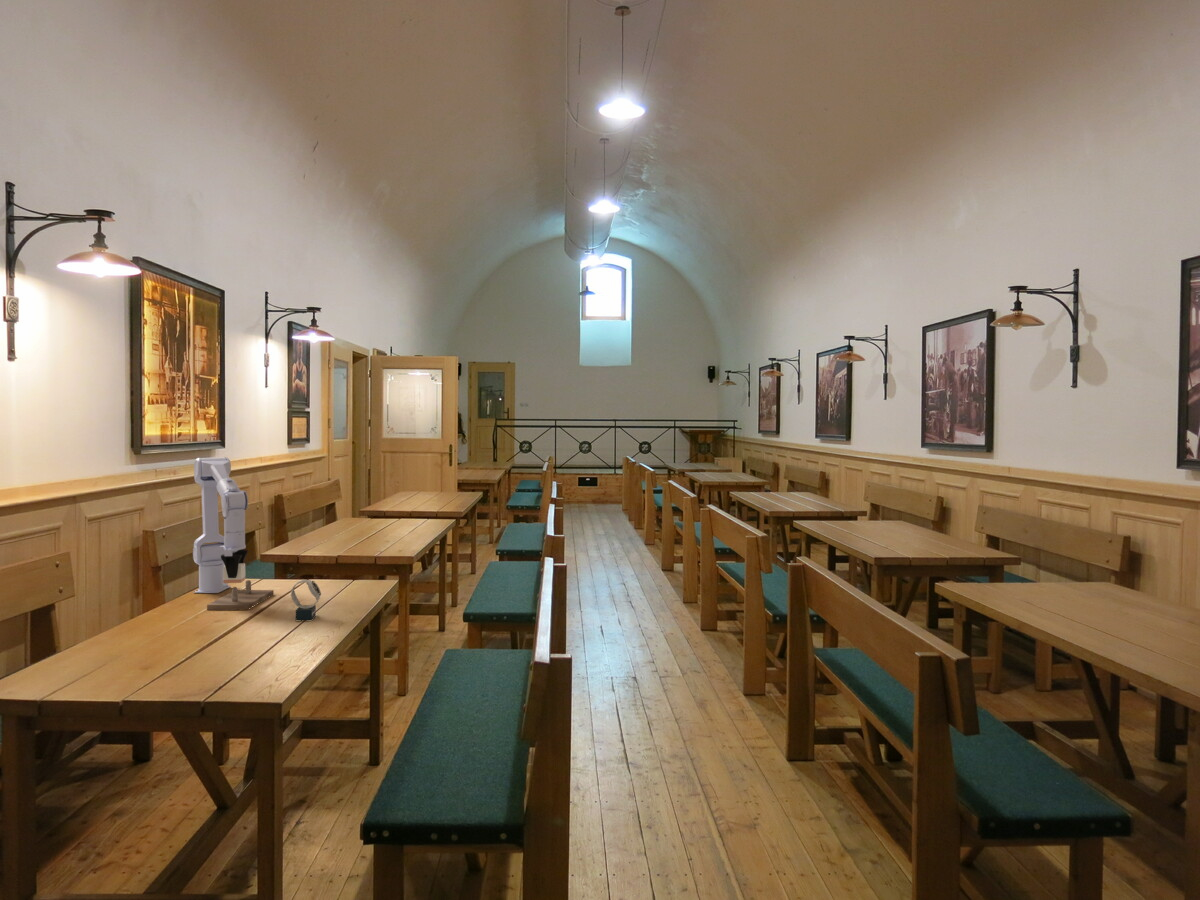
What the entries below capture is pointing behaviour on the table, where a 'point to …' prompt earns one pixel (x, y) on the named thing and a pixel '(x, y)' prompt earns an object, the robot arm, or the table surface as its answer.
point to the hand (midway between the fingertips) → (234, 575)
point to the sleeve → (239, 577)
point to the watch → (306, 610)
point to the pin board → (240, 598)
